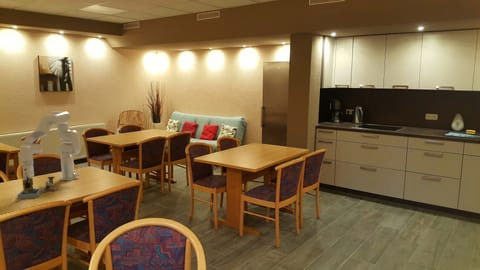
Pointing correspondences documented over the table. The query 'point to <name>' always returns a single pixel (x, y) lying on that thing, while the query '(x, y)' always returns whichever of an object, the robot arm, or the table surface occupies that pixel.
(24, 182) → the condiment
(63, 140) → the robot arm
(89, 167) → the table surface
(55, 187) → the crank base
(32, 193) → the tray
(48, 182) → the crank
